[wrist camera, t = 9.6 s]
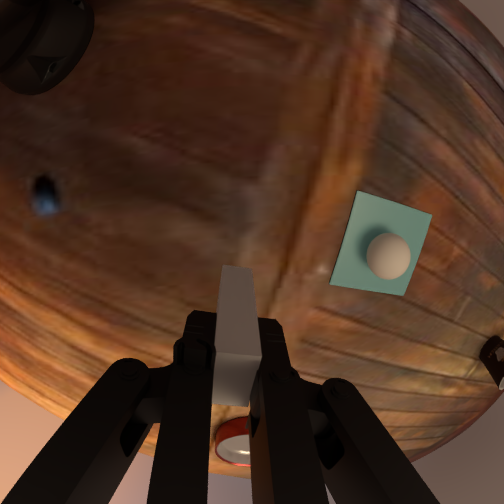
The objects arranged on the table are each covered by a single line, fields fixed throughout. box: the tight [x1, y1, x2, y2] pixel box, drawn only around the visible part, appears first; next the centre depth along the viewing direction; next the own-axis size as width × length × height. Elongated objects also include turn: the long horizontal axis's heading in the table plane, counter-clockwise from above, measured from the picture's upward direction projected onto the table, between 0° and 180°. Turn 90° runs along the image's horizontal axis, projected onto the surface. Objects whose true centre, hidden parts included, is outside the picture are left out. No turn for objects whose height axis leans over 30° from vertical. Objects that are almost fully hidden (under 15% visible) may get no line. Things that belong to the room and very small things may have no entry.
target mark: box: [329, 191, 432, 296], centre depth 33 cm, size 12×12×1 cm
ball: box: [366, 233, 411, 280], centre depth 31 cm, size 6×6×6 cm
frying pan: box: [215, 417, 251, 466], centre depth 45 cm, size 32×13×6 cm, turn 58°
